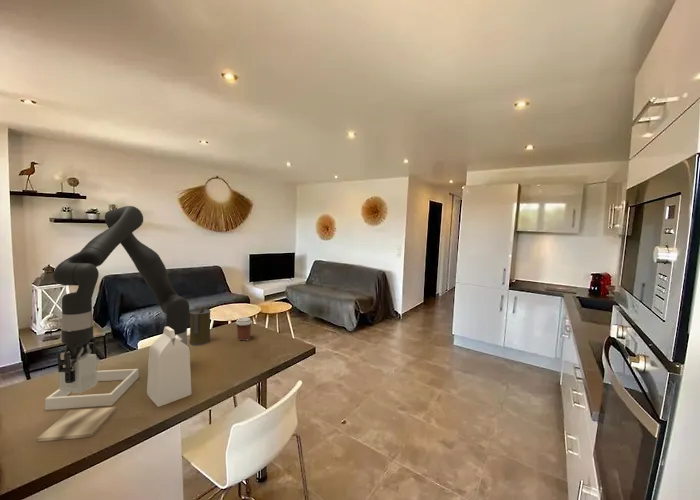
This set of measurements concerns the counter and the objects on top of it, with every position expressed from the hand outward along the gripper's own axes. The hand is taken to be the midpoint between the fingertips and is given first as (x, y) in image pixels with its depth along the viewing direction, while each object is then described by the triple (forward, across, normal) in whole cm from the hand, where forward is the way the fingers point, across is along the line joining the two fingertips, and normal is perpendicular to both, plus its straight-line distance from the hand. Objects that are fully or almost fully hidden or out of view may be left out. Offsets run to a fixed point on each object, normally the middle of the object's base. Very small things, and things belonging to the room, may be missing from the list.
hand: (78, 376), depth 97 cm
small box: (+4, 0, 0) cm, 4 cm away
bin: (+16, -20, -6) cm, 26 cm away
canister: (+16, -69, +18) cm, 73 cm away
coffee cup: (+16, -71, +41) cm, 84 cm away
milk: (+16, -15, +21) cm, 31 cm away
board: (+16, 0, 0) cm, 16 cm away
